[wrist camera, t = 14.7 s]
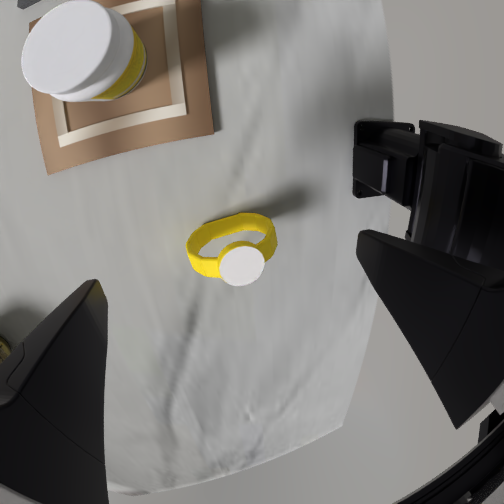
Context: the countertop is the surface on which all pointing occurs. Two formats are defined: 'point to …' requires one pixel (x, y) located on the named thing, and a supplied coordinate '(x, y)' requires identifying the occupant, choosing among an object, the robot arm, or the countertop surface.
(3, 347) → the cup
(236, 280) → the watch
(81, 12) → the supplement bottle
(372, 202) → the countertop surface
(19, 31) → the countertop surface
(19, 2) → the ink pad
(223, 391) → the countertop surface
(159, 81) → the marked board
